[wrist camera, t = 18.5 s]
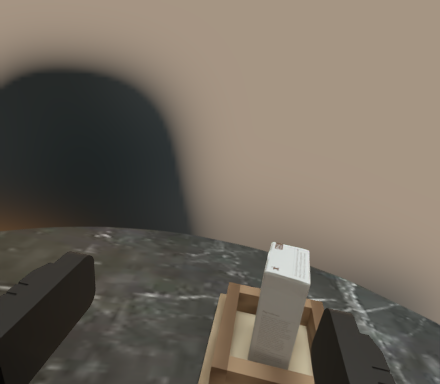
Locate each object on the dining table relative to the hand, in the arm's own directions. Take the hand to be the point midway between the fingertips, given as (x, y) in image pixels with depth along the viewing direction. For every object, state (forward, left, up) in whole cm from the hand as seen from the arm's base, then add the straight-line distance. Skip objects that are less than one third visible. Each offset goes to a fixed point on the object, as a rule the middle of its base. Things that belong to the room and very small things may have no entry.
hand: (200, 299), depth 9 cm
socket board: (+6, +17, -21) cm, 28 cm away
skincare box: (+6, +16, -20) cm, 27 cm away
